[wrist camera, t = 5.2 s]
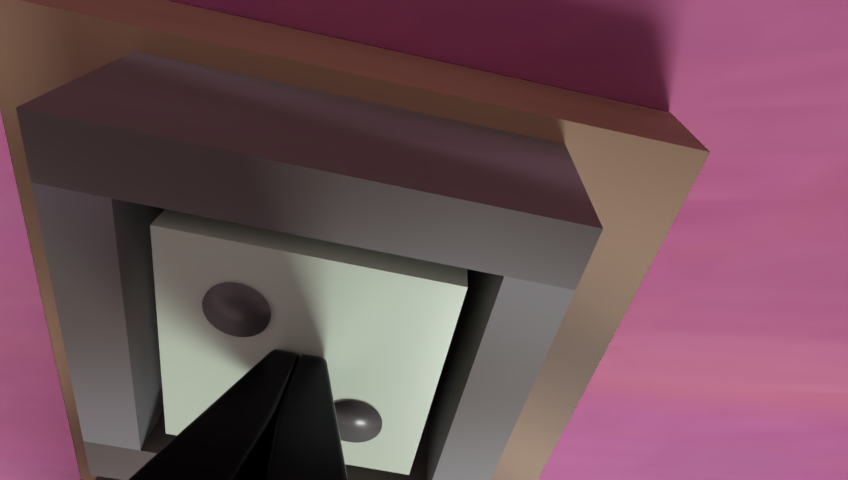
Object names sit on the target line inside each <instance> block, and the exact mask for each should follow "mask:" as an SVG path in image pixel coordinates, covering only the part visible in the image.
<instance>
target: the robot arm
mask: <svg viewBox="0 0 848 480" xmlns="http://www.w3.org/2000/svg"><path fill="white" fill-rule="evenodd" d="M128 480H348V478H347V472H346V467H345V461H344V456H343V450H342V444H341V439H340V433H339V427H338V422H337V416H336V411H335V405H334V399H333V394H332V388H331V383H330V377H329V371H328V366H327V361H326V359H325V358H323V357H318V356H313V355H307V354H302V355H301V356H300V357H299V355H298V354H297V353H296V352H291V351H286V350H280V349H274V350H272V351H271V352H269V353H268V354H267V355H266V356H265V357H264V358H263V359H262V360H260V361H259V362H258V363H257V364H256V365H255V366H254V367H253V368H252V369H250V370H249V371H248V372H247V373H246V374H245V375H244V376H243V377H242V378H240V379H239V380H238V381H237V382H236V383H235V384H234V385H233V386H232V387H230V388H229V389H228V390H227V391H226V392H225V393H224V394H223V395H222V396H220V397H219V398H218V399H217V400H216V401H215V402H214V403H213V404H211V405H210V406H209V407H208V408H207V409H206V410H205V411H204V412H203V413H201V414H200V415H199V416H198V417H197V418H196V419H195V420H194V421H193V422H191V423H190V424H189V425H188V426H187V427H186V428H185V429H184V430H183V431H181V432H180V433H179V434H178V435H177V436H176V437H175V438H174V439H173V440H171V441H170V442H169V443H168V444H167V445H166V446H165V447H164V448H163V449H161V450H160V451H159V452H158V453H157V454H156V455H155V456H154V457H153V458H151V459H150V460H149V461H148V462H147V463H146V464H145V465H144V466H143V467H141V468H140V469H139V470H138V471H137V472H136V473H135V474H134V475H133V476H131V477H130V478H129V479H128Z"/></svg>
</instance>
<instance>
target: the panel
mask: <svg viewBox="0 0 848 480" xmlns="http://www.w3.org/2000/svg"><path fill="white" fill-rule="evenodd" d="M0 110H1V114H2V119H3V123H4V128H5V133H6V137H7V142H8V146H9V151H10V156H11V160H12V165H13V169H14V174H15V178H16V183H17V188H18V192H19V197H20V201H21V206H22V210H23V215H24V220H25V224H26V229H27V233H28V238H29V243H30V247H31V252H32V256H33V261H34V265H35V270H36V275H37V279H38V284H39V288H40V293H41V298H42V302H43V307H44V311H45V316H46V320H47V325H48V330H49V334H50V339H51V343H52V348H53V352H54V357H55V362H56V366H57V371H58V375H59V380H60V385H61V389H62V394H63V398H64V403H65V407H66V412H67V417H68V421H69V426H70V430H71V435H72V440H73V444H74V449H75V453H76V458H77V462H78V467H79V472H80V476H81V480H128V479H129V478H130V477H131V476H133V475H134V474H135V473H136V472H137V471H138V470H139V469H140V468H141V467H143V466H144V465H145V464H146V463H147V462H148V461H149V460H150V459H151V458H153V457H154V456H155V455H156V454H157V453H158V452H159V451H160V450H161V449H163V448H164V447H165V446H166V445H167V444H168V443H169V442H170V441H171V440H173V439H174V438H175V437H176V436H177V435H171V434H166V431H165V417H164V404H163V391H162V377H161V364H160V351H159V338H158V324H157V311H156V298H155V284H154V271H153V258H152V244H151V231H150V225H151V224H152V222H153V221H154V220H155V219H156V218H157V217H158V216H159V215H160V214H161V213H162V212H163V211H164V210H165V209H167V210H173V211H178V212H183V213H188V214H193V215H198V216H203V217H208V218H213V219H218V220H223V221H228V222H233V223H238V224H243V225H248V226H253V227H258V228H263V229H268V230H273V231H279V232H284V233H289V234H294V235H299V236H304V237H309V238H314V239H319V240H324V241H329V242H334V243H339V244H344V245H349V246H354V247H359V248H364V249H369V250H374V251H379V252H385V253H390V254H395V255H400V256H405V257H410V258H415V259H420V260H425V261H430V262H435V263H440V264H445V265H450V266H455V267H460V268H465V269H467V276H468V288H467V292H466V295H465V298H464V301H463V304H462V308H461V311H460V314H459V317H458V320H457V324H456V327H455V330H454V333H453V336H452V340H451V343H450V346H449V349H448V352H447V355H446V359H445V362H444V365H443V368H442V371H441V375H440V378H439V381H438V384H437V387H436V391H435V394H434V397H433V400H432V403H431V407H430V410H429V413H428V416H427V419H426V422H425V426H424V429H423V432H422V435H421V438H420V442H419V445H418V448H417V451H416V454H415V458H414V461H413V464H412V467H411V470H410V474H409V475H406V474H400V473H394V472H388V471H382V470H376V469H370V468H365V467H359V466H353V465H347V464H345V467H346V472H347V478H348V480H538V478H539V476H540V475H541V473H542V471H543V469H544V467H545V465H546V463H547V461H548V459H549V457H550V455H551V454H552V452H553V450H554V448H555V446H556V444H557V442H558V440H559V438H560V436H561V435H562V433H563V431H564V429H565V427H566V425H567V423H568V421H569V419H570V417H571V416H572V414H573V412H574V410H575V408H576V406H577V404H578V402H579V400H580V398H581V396H582V395H583V393H584V391H585V389H586V387H587V385H588V383H589V381H590V379H591V377H592V376H593V374H594V372H595V370H596V368H597V366H598V364H599V362H600V360H601V358H602V357H603V355H604V353H605V351H606V349H607V347H608V345H609V343H610V341H611V339H612V338H613V336H614V334H615V332H616V330H617V328H618V326H619V324H620V322H621V320H622V318H623V317H624V315H625V313H626V311H627V309H628V307H629V305H630V303H631V301H632V299H633V298H634V296H635V294H636V292H637V290H638V288H639V286H640V284H641V282H642V280H643V279H644V277H645V275H646V273H647V271H648V269H649V267H650V265H651V263H652V261H653V260H654V258H655V256H656V254H657V252H658V250H659V248H660V246H661V244H662V242H663V240H664V239H665V237H666V235H667V233H668V231H669V229H670V227H671V225H672V223H673V221H674V220H675V218H676V216H677V214H678V212H679V210H680V208H681V206H682V204H683V202H684V201H685V199H686V197H687V195H688V193H689V191H690V189H691V187H692V185H693V183H694V182H695V180H696V178H697V176H698V174H699V172H700V170H701V168H702V166H703V164H704V162H705V161H706V159H707V157H708V155H709V153H710V152H709V151H708V150H707V149H706V148H705V147H704V146H703V145H702V144H701V143H700V142H699V141H698V140H697V139H696V138H695V137H694V136H693V135H692V134H691V133H690V132H689V131H688V130H687V129H686V128H685V127H684V126H683V125H682V124H681V123H680V122H679V121H678V120H677V119H676V118H675V117H674V116H673V115H672V114H671V113H670V112H665V111H661V110H656V109H652V108H647V107H643V106H638V105H634V104H629V103H625V102H620V101H616V100H612V99H607V98H603V97H598V96H594V95H589V94H585V93H580V92H576V91H571V90H567V89H562V88H558V87H553V86H549V85H544V84H540V83H536V82H531V81H527V80H522V79H518V78H513V77H509V76H504V75H500V74H495V73H491V72H486V71H482V70H477V69H473V68H468V67H464V66H460V65H455V64H451V63H446V62H442V61H437V60H433V59H428V58H424V57H419V56H415V55H410V54H406V53H401V52H397V51H392V50H388V49H383V48H379V47H375V46H370V45H366V44H361V43H357V42H352V41H348V40H343V39H339V38H334V37H330V36H325V35H321V34H316V33H312V32H307V31H303V30H299V29H294V28H290V27H285V26H281V25H276V24H272V23H267V22H263V21H258V20H254V19H249V18H245V17H240V16H236V15H231V14H227V13H223V12H218V11H214V10H209V9H205V8H200V7H196V6H191V5H187V4H182V3H178V2H173V1H169V0H0Z"/></svg>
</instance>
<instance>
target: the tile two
mask: <svg viewBox="0 0 848 480" xmlns="http://www.w3.org/2000/svg"><path fill="white" fill-rule="evenodd" d="M150 231H151V244H152V258H153V271H154V284H155V298H156V311H157V324H158V338H159V351H160V364H161V377H162V391H163V404H164V417H165V431H166V434H171V435H178V434H179V433H180V432H181V431H183V430H184V429H185V428H186V427H187V426H188V425H189V424H190V423H191V422H193V421H194V420H195V419H196V418H197V417H198V416H199V415H200V414H201V413H203V412H204V411H205V410H206V409H207V408H208V407H209V406H210V405H211V404H213V403H214V402H215V401H216V400H217V399H218V398H219V397H220V396H222V395H223V394H224V393H225V392H226V391H227V390H228V389H229V388H230V387H232V386H233V385H234V384H235V383H236V382H237V381H238V380H239V379H240V378H242V377H243V376H244V375H245V374H246V373H247V372H248V371H249V370H250V369H252V368H253V367H254V366H255V365H256V364H257V363H258V362H259V361H260V360H262V359H263V358H264V357H265V356H266V355H267V354H268V353H269V352H271V351H272V350H274V349H280V350H286V351H291V352H296V353H297V354H298V355H299V357H300V356H301V355H302V354H307V355H313V356H318V357H323V358H325V359H326V361H327V366H328V371H329V377H330V383H331V388H332V394H333V399H334V405H335V411H336V416H337V422H338V427H339V433H340V439H341V444H342V450H343V456H344V461H345V464H347V465H353V466H359V467H365V468H370V469H376V470H382V471H388V472H394V473H400V474H406V475H409V474H410V470H411V467H412V464H413V461H414V458H415V454H416V451H417V448H418V445H419V442H420V438H421V435H422V432H423V429H424V426H425V422H426V419H427V416H428V413H429V410H430V407H431V403H432V400H433V397H434V394H435V391H436V387H437V384H438V381H439V378H440V375H441V371H442V368H443V365H444V362H445V359H446V355H447V352H448V349H449V346H450V343H451V340H452V336H453V333H454V330H455V327H456V324H457V320H458V317H459V314H460V311H461V308H462V304H463V301H464V298H465V295H466V292H467V288H468V276H467V269H465V268H460V267H455V266H450V265H445V264H440V263H435V262H430V261H425V260H420V259H415V258H410V257H405V256H400V255H395V254H390V253H385V252H379V251H374V250H369V249H364V248H359V247H354V246H349V245H344V244H339V243H334V242H329V241H324V240H319V239H314V238H309V237H304V236H299V235H294V234H289V233H284V232H279V231H273V230H268V229H263V228H258V227H253V226H248V225H243V224H238V223H233V222H228V221H223V220H218V219H213V218H208V217H203V216H198V215H193V214H188V213H183V212H178V211H173V210H167V209H165V210H164V211H163V212H162V213H161V214H160V215H159V216H158V217H157V218H156V219H155V220H154V221H153V222H152V224H151V225H150Z"/></svg>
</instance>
